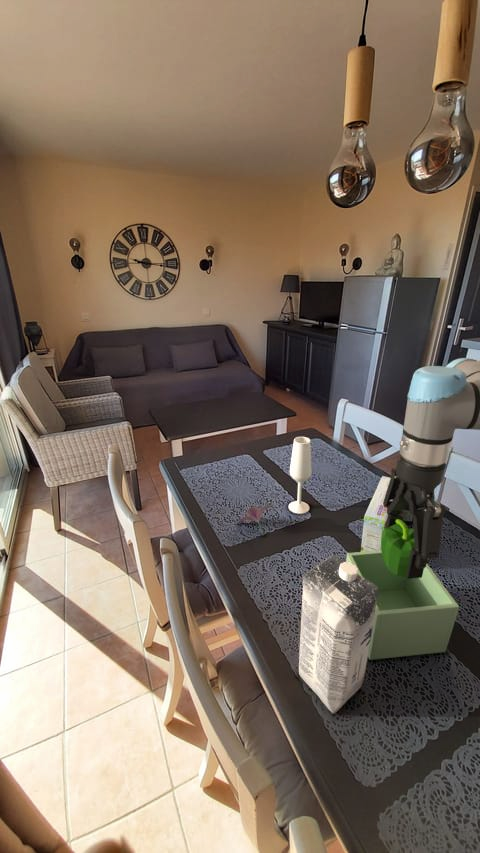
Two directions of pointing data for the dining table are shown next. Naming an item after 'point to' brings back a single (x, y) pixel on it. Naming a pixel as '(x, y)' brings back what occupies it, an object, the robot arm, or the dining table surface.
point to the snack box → (375, 518)
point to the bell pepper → (397, 547)
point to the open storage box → (406, 610)
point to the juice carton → (335, 630)
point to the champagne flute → (300, 470)
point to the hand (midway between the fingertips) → (401, 558)
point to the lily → (254, 514)
